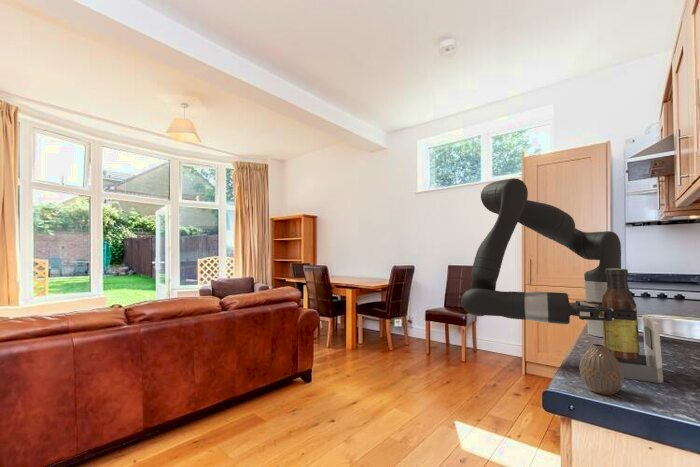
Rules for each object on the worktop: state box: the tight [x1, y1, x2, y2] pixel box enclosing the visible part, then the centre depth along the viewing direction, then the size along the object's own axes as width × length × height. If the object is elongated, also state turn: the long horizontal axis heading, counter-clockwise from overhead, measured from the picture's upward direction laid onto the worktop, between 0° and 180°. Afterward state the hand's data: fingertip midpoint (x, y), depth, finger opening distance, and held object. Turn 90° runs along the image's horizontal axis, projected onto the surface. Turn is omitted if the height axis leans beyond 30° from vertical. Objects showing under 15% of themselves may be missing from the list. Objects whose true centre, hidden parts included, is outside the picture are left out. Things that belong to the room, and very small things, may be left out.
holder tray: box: [617, 314, 664, 384], centre depth 76 cm, size 10×11×12 cm
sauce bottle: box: [602, 268, 641, 360], centre depth 76 cm, size 7×6×20 cm
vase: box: [578, 343, 625, 396], centre depth 66 cm, size 7×7×9 cm
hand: (632, 312), depth 75 cm, fingers closed on sauce bottle, 6 cm apart
